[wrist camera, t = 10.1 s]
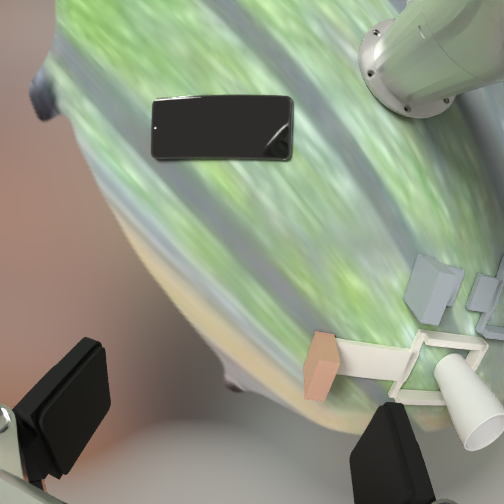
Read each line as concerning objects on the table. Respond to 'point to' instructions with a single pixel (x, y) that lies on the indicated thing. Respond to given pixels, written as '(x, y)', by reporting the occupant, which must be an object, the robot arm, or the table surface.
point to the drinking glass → (469, 403)
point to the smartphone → (222, 127)
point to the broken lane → (452, 293)
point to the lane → (380, 363)
